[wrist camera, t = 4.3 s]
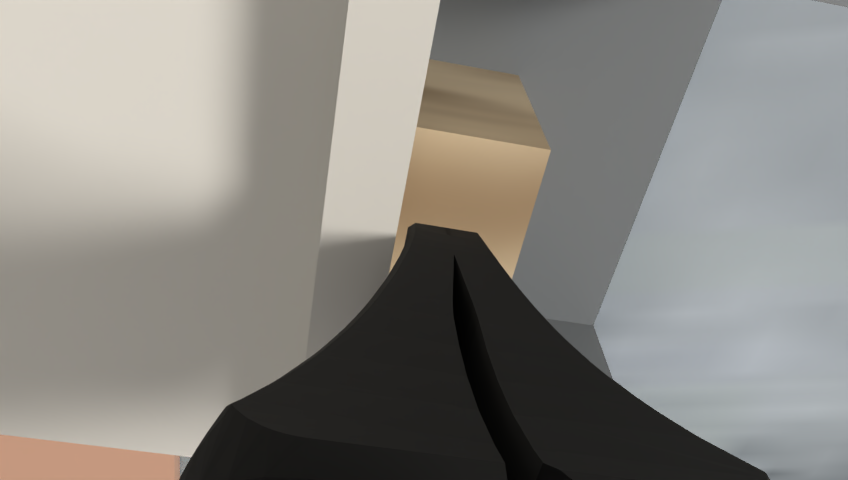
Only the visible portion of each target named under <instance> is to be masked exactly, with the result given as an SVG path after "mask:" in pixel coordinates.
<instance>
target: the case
mask: <svg viewBox="0 0 848 480" xmlns="http://www.w3.org/2000/svg"><path fill="white" fill-rule="evenodd" d="M721 1H722V0H440V4H439V10H438V15H437V20H436V26H435V31H434V36H433V42H432V47H431V52H430V58H429V59H432V60H437V61H443V62H448V63H453V64H459V65H464V66H470V67H475V68H481V69H486V70H492V71H497V72H503V73H508V74H514V75H519V78H520V80H521V82H522V85H523V87H524V89H525V91H526V94H527V96H528V98H529V101H530V103H531V105H532V108H533V110H534V112H535V114H536V117H537V119H538V121H539V124H540V126H541V128H542V131H543V133H544V135H545V137H546V140H547V142H548V144H549V147H550V149H551V152H550V155H549V158H548V162H547V165H546V168H545V172H544V175H543V178H542V182H541V185H540V188H539V191H538V195H537V198H536V201H535V205H534V208H533V211H532V214H531V218H530V221H529V224H528V228H527V231H526V234H525V238H524V241H523V244H522V247H521V251H520V254H519V257H518V261H517V264H516V267H515V271H514V274H513V277H512V280H513V281H514V283H515V284H516V285H517V286H518V288H519V289H520V290H521V291H522V293H523V294H524V295H525V296H526V297H527V299H528V300H529V301H530V302H531V303H532V304H533V306H534V307H535V308H536V309H537V310H538V311H539V312H540V313H541V314H542V315H543V316H544V318H545V319H546V320H547V321H548V322H549V323H550V324H551V325H552V326H553V327H554V328H555V329H556V330H557V331H558V332H559V333H560V334H561V335H562V336H563V337H564V338H565V339H566V340H567V341H568V342H569V343H570V344H571V345H572V346H573V347H575V348H576V349H577V350H578V351H579V352H580V353H581V354H582V355H583V356H585V357H586V358H587V359H588V360H589V361H590V362H591V363H592V364H594V365H595V366H596V367H597V368H599V369H600V370H601V371H602V372H603V373H605V374H606V375H607V376H609V377H610V378H611V379H612V376H611V373H610V370H609V368H608V365H607V362H606V359H605V357H604V354H603V351H602V348H601V346H600V343H599V340H598V337H597V335H596V332H595V329H594V326H593V325H594V322H595V320H596V317H597V314H598V312H599V309H600V307H601V304H602V302H603V299H604V297H605V294H606V292H607V289H608V287H609V284H610V282H611V279H612V277H613V274H614V272H615V269H616V266H617V264H618V261H619V259H620V256H621V254H622V251H623V249H624V246H625V244H626V241H627V239H628V236H629V234H630V231H631V229H632V226H633V224H634V221H635V218H636V216H637V213H638V211H639V208H640V206H641V203H642V201H643V198H644V196H645V193H646V191H647V188H648V186H649V183H650V181H651V178H652V176H653V173H654V170H655V168H656V165H657V163H658V160H659V158H660V155H661V153H662V150H663V148H664V145H665V143H666V140H667V138H668V135H669V133H670V130H671V127H672V125H673V122H674V120H675V117H676V115H677V112H678V110H679V107H680V105H681V102H682V100H683V97H684V95H685V92H686V90H687V87H688V85H689V82H690V79H691V77H692V74H693V72H694V69H695V67H696V64H697V62H698V59H699V57H700V54H701V52H702V49H703V47H704V44H705V42H706V39H707V37H708V34H709V31H710V29H711V26H712V24H713V21H714V19H715V16H716V14H717V11H718V9H719V6H720V4H721ZM814 1H819V2H824V3H829V4H834V5H839V6H844V7H848V0H814Z"/></svg>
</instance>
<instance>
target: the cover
mask: <svg viewBox="0 0 848 480" xmlns="http://www.w3.org/2000/svg"><path fill="white" fill-rule="evenodd" d="M439 4H440V0H0V435H9V436H17V437H26V438H34V439H43V440H51V441H59V442H68V443H76V444H85V445H93V446H101V447H110V448H118V449H127V450H135V451H143V452H152V453H160V454H169V455H177V456H186V457H192V455H193V454H194V452H195V450H196V449H197V447H198V446H199V444H200V443H201V441H202V439H203V438H204V436H205V435H206V433H207V432H208V431H209V429H210V428H211V426H212V425H213V423H214V422H215V421H216V419H217V418H218V416H219V415H220V414H221V412H222V411H223V410H224V408H225V407H226V406H228V405H229V404H231V403H233V402H236V401H238V400H240V399H242V398H244V397H246V396H248V395H250V394H252V393H254V392H255V391H257V390H259V389H261V388H263V387H265V386H267V385H269V384H271V383H272V382H274V381H276V380H277V379H279V378H280V377H282V376H283V375H285V374H286V373H288V372H289V371H291V370H292V369H294V368H295V367H296V366H298V365H299V364H301V363H302V362H304V361H305V360H307V359H308V358H310V357H311V356H312V355H314V354H315V353H316V352H318V351H319V350H320V349H321V348H322V347H324V346H325V345H326V344H327V343H328V342H329V341H331V340H332V339H333V338H334V337H335V336H336V335H337V334H338V333H339V332H341V331H342V330H343V329H344V328H345V327H346V326H347V325H348V324H349V323H350V322H351V321H352V320H353V319H354V318H355V317H356V316H357V315H358V313H359V312H360V311H361V310H362V309H363V308H364V307H365V305H366V304H367V303H368V302H369V301H370V299H371V298H372V297H373V295H374V294H375V293H376V291H377V290H378V289H379V287H380V286H381V285H382V283H383V282H384V281H385V279H386V278H387V276H388V275H389V270H390V265H391V260H392V255H393V249H394V244H395V239H396V233H397V228H398V223H399V217H400V212H401V207H402V201H403V196H404V191H405V185H406V180H407V175H408V169H409V164H410V159H411V153H412V148H413V143H414V137H415V132H416V127H417V122H418V116H419V111H420V106H421V100H422V95H423V90H424V84H425V79H426V74H427V68H428V63H429V58H430V52H431V47H432V42H433V36H434V31H435V26H436V20H437V15H438V10H439Z"/></svg>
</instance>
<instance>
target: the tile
mask: <svg viewBox="0 0 848 480" xmlns="http://www.w3.org/2000/svg"><path fill="white" fill-rule="evenodd" d="M179 479H180V456H177V455H169V454H160V453H152V452H143V451H135V450H127V449H118V448H110V447H101V446H93V445H85V444H76V443H68V442H59V441H51V440H43V439H34V438H26V437H17V436H9V435H0V480H179Z"/></svg>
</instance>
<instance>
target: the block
mask: <svg viewBox="0 0 848 480" xmlns="http://www.w3.org/2000/svg"><path fill="white" fill-rule="evenodd" d="M550 152H551V149H550V147H549V144H548V142H547V140H546V137H545V135H544V133H543V131H542V128H541V126H540V124H539V121H538V119H537V117H536V114H535V112H534V110H533V108H532V105H531V103H530V101H529V98H528V96H527V94H526V91H525V89H524V87H523V85H522V82H521V80H520V78H519V75H514V74H508V73H503V72H497V71H492V70H486V69H481V68H475V67H470V66H464V65H459V64H453V63H448V62H443V61H437V60H432V59H429V63H428V68H427V74H426V79H425V84H424V90H423V95H422V100H421V106H420V111H419V116H418V122H417V127H416V132H415V137H414V143H413V148H412V153H411V159H410V164H409V169H408V175H407V180H406V185H405V191H404V196H403V201H402V207H401V212H400V217H399V223H398V228H397V233H396V239H395V244H394V249H393V255H392V260H391V265H390V270H389V273H390V271H391V270H392V268H393V266H394V265H395V263H396V261H397V259H398V258H399V256H400V254H401V252H402V250H403V247H404V244H405V240H406V235H407V230H408V227H409V226H411V225H412V224H414V223H420V224H427V225H433V226H439V227H445V228H451V229H457V230H464V231H470V232H476V233H478V234H479V236H480V237H481V238H482V240H483V241H484V242H485V244H486V245H487V246H488V248H489V249H490V251H491V252H492V253H493V255H494V256H495V257H496V259H497V260H498V262H499V263H500V264H501V266H502V267H503V268H504V270H505V271H506V272H507V274H508V275H509V276H510V278H511V279H512V277H513V274H514V271H515V267H516V264H517V261H518V257H519V254H520V251H521V247H522V244H523V241H524V238H525V234H526V231H527V228H528V224H529V221H530V218H531V214H532V211H533V208H534V205H535V201H536V198H537V195H538V191H539V188H540V185H541V182H542V178H543V175H544V172H545V168H546V165H547V162H548V158H549V155H550Z"/></svg>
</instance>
